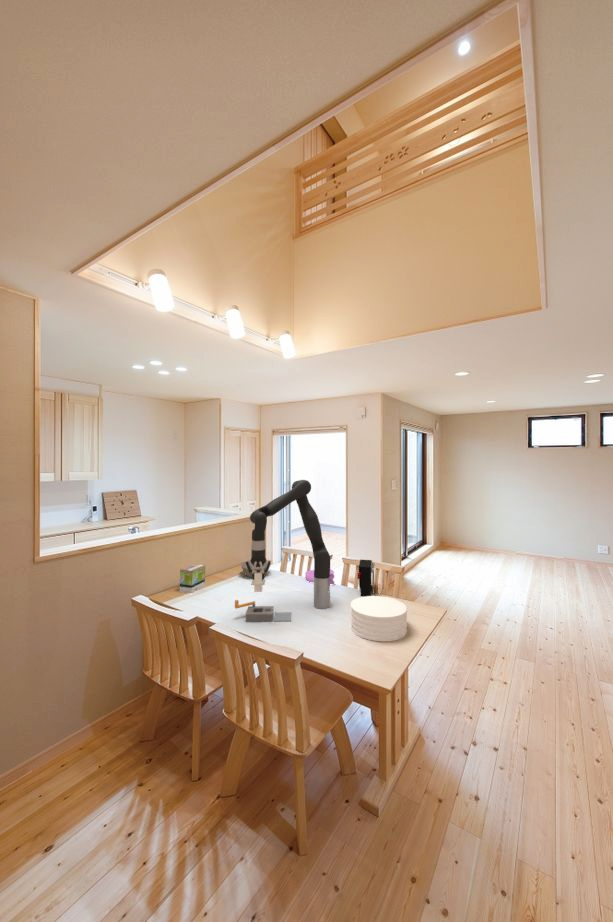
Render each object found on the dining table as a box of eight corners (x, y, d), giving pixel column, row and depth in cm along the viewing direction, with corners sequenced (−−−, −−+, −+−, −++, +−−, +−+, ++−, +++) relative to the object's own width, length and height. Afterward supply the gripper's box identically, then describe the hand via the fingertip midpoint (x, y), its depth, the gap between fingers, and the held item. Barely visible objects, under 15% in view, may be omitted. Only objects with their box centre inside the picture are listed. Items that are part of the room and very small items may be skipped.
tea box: (192, 593, 237) (192, 570, 237) (179, 591, 240) (179, 569, 240) (205, 586, 251) (205, 564, 251) (193, 584, 254) (193, 563, 255)
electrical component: (374, 600, 226) (374, 567, 226) (357, 598, 228) (357, 566, 228) (374, 590, 243) (374, 560, 243) (359, 589, 245) (359, 559, 245)
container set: (301, 581, 262) (301, 562, 262) (317, 577, 271) (317, 559, 272) (323, 591, 242) (323, 571, 242) (340, 586, 252) (340, 567, 252)
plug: (265, 588, 204) (265, 568, 204) (264, 592, 197) (264, 571, 197) (252, 588, 203) (252, 568, 204) (251, 592, 196) (251, 572, 197)
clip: (255, 606, 205) (255, 596, 205) (235, 611, 198) (236, 601, 198) (254, 605, 207) (254, 595, 207) (234, 610, 199) (234, 600, 199)
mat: (291, 613, 206) (291, 612, 206) (291, 621, 195) (291, 620, 195) (275, 613, 206) (275, 612, 206) (274, 621, 195) (274, 620, 195)
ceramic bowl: (259, 571, 287) (259, 558, 287) (276, 578, 269) (276, 564, 269) (234, 576, 272) (234, 563, 272) (250, 584, 255) (250, 570, 255)
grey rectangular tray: (273, 613, 206) (273, 605, 206) (272, 621, 195) (272, 613, 195) (248, 613, 205) (248, 605, 205) (245, 621, 194) (245, 613, 194)
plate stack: (368, 612, 207) (368, 592, 207) (415, 626, 190) (415, 604, 190) (339, 630, 186) (340, 607, 186) (391, 647, 168) (391, 622, 168)
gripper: (271, 546, 204) (271, 577, 204) (246, 546, 204) (246, 577, 204) (271, 549, 197) (271, 581, 197) (244, 549, 196) (244, 582, 196)
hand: (258, 579), depth 200 cm, fingers closed on plug, 4 cm apart
